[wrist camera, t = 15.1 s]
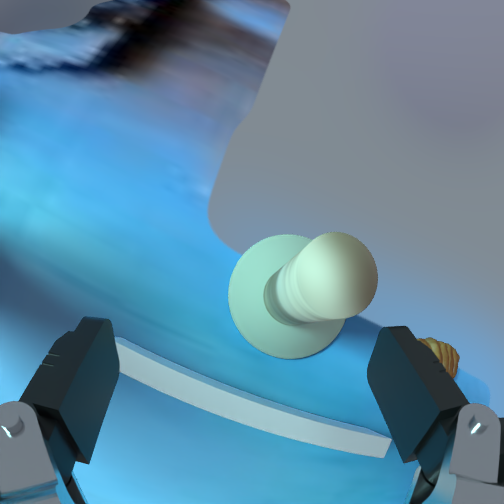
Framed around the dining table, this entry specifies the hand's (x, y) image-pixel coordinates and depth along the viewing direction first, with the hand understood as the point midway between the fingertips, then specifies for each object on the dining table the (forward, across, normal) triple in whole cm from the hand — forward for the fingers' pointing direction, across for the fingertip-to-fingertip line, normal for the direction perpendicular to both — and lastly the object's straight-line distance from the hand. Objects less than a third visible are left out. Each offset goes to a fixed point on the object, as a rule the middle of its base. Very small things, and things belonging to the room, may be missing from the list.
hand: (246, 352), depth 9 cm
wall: (+13, -2, +17) cm, 21 cm away
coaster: (+19, -6, +9) cm, 22 cm away
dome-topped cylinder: (+19, -6, +9) cm, 22 cm away
